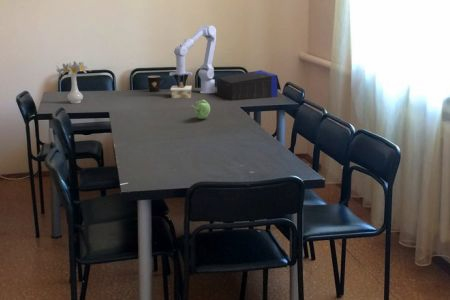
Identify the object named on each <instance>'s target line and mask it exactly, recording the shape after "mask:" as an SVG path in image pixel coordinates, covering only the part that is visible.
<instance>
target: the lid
mask: <svg viewBox="0 0 450 300" xmlns="http://www.w3.org/2000/svg"><path fill="white" fill-rule="evenodd" d="M178 83H179V87H177V85H171V87H170V91H171V92H172V91H178V90H191V91H192V87H193V85H185V87H184V81H178Z"/></svg>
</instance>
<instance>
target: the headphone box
mask: <svg viewBox="0 0 450 300" xmlns="http://www.w3.org/2000/svg"><path fill="white" fill-rule="evenodd" d="M280 84H281V83H280V80H279V77H278V75H277V74H275V73H271V72H268V71H265V70H261V69H260V70H254V71H249V72H242V73H236V74H231V75H225V76H219V77H216V94H217V95H218V96H221V98H225V99H227V100H229V101H231V102H232V101H245V100H255V99H269V98H277V97H278V91H282V88H281V85H280Z"/></svg>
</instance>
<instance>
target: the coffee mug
mask: <svg viewBox="0 0 450 300" xmlns="http://www.w3.org/2000/svg"><path fill="white" fill-rule="evenodd" d="M162 80H164V83H162V84H161V81H162ZM147 82H148V89H149V93H159V92H160V88H161V87H162V86H163V85H165V84H166V82H167V80H166V78H163V77H162V78H161V76H160V75H148V76H147Z"/></svg>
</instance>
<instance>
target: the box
mask: <svg viewBox="0 0 450 300" xmlns="http://www.w3.org/2000/svg"><path fill="white" fill-rule="evenodd" d="M191 98H192V89H191V90H178V91H171V99H191Z"/></svg>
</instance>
